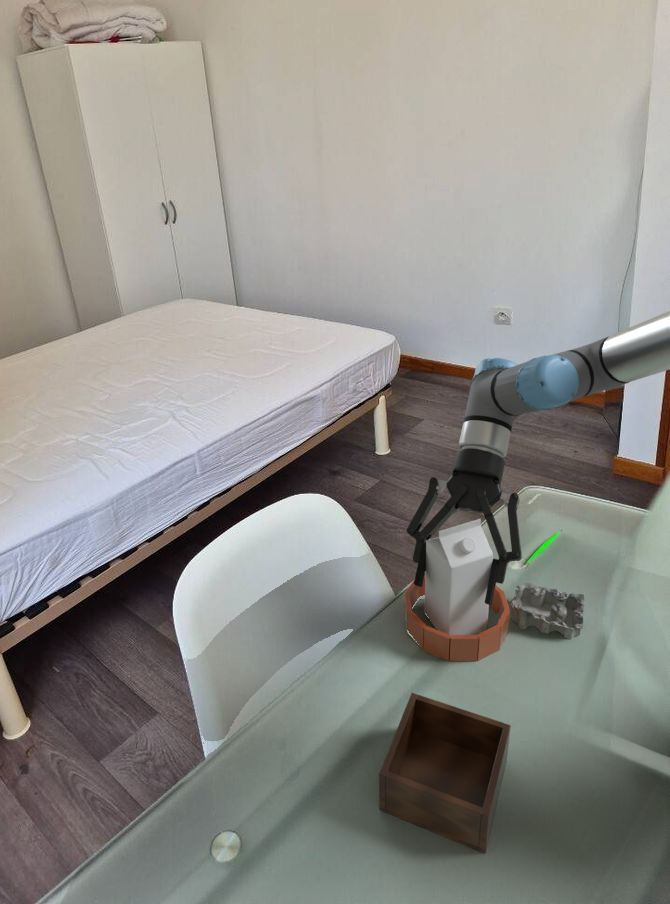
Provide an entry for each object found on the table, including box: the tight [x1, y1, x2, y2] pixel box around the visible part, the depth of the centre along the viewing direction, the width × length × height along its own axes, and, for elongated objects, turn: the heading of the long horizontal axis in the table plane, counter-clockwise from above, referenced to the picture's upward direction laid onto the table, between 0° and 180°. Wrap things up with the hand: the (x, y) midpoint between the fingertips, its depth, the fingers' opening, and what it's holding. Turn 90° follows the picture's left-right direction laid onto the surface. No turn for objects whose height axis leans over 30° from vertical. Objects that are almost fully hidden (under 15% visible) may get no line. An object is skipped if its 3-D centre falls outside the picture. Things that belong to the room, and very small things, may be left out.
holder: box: [378, 692, 512, 854], centre depth 83 cm, size 13×13×7 cm
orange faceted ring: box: [404, 575, 511, 662], centre depth 108 cm, size 16×16×4 cm
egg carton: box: [510, 582, 585, 640], centre depth 108 cm, size 11×8×4 cm
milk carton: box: [423, 518, 494, 635], centre depth 105 cm, size 7×7×19 cm
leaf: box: [525, 529, 563, 565], centre depth 124 cm, size 1×14×1 cm, turn 134°
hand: (452, 594), depth 103 cm, fingers closed on milk carton, 10 cm apart
